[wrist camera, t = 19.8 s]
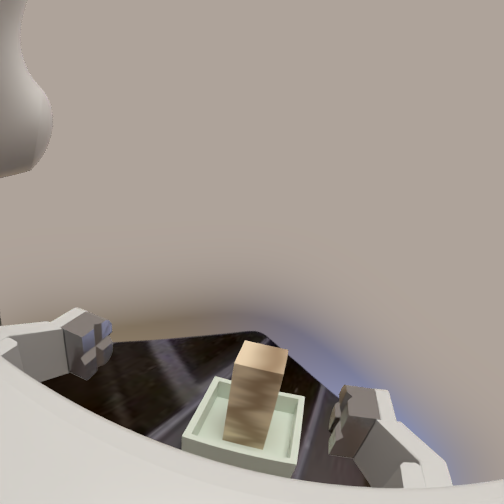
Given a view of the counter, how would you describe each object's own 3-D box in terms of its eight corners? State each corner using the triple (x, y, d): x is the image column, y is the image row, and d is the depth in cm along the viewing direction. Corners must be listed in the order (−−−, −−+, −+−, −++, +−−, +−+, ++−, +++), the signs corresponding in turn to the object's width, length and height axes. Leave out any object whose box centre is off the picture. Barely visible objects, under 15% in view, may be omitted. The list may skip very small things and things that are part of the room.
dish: (181, 454, 31) (181, 436, 30) (212, 394, 43) (215, 376, 42) (289, 481, 29) (296, 464, 28) (298, 414, 41) (304, 396, 40)
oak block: (222, 439, 34) (234, 363, 31) (232, 414, 38) (245, 340, 35) (262, 449, 33) (283, 374, 30) (269, 423, 38) (288, 350, 35)
